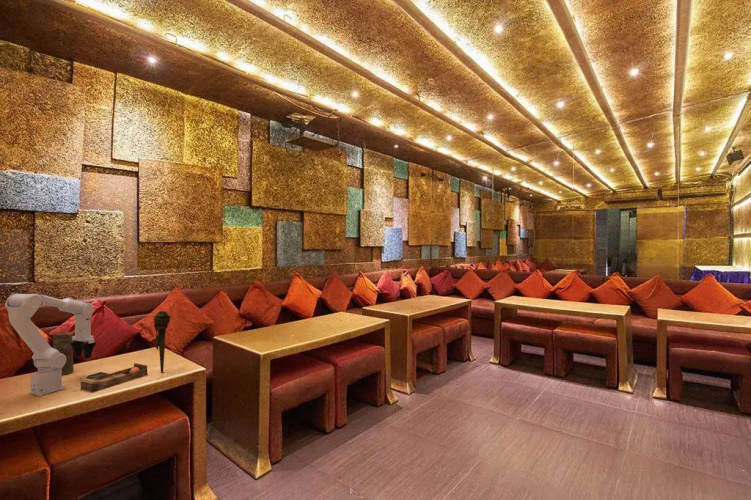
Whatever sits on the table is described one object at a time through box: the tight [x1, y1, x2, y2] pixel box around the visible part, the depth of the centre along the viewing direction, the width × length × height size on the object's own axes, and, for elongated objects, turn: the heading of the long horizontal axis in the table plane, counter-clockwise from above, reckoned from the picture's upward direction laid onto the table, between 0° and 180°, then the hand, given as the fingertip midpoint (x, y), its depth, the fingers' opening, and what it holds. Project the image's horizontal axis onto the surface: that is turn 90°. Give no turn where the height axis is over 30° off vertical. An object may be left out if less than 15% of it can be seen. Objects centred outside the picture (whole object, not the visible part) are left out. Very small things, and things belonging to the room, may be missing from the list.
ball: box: [130, 366, 140, 373], centre depth 169 cm, size 4×4×4 cm
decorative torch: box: [153, 310, 171, 374], centre depth 174 cm, size 7×7×30 cm
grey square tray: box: [86, 371, 109, 379], centre depth 164 cm, size 6×6×3 cm
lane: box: [79, 362, 148, 393], centre depth 162 cm, size 23×9×4 cm, turn 155°
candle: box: [52, 331, 75, 376], centre depth 174 cm, size 8×7×20 cm
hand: (83, 357), depth 167 cm, fingers open, 7 cm apart
